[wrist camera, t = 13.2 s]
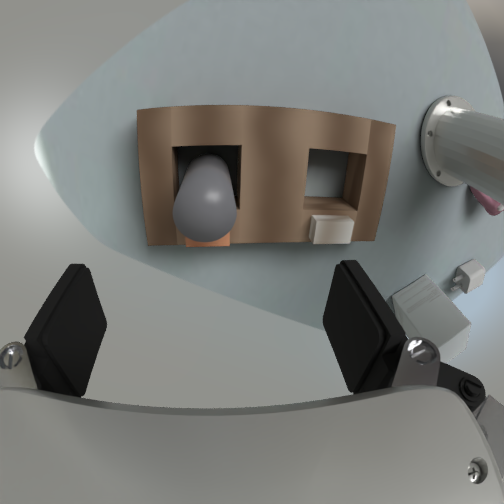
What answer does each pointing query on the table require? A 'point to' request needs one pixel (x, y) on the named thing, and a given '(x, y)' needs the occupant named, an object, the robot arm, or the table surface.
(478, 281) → the usb wall charger
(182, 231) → the charcoal plug
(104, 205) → the table surface
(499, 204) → the video game controller
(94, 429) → the robot arm
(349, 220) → the socket block
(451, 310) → the supplement box
